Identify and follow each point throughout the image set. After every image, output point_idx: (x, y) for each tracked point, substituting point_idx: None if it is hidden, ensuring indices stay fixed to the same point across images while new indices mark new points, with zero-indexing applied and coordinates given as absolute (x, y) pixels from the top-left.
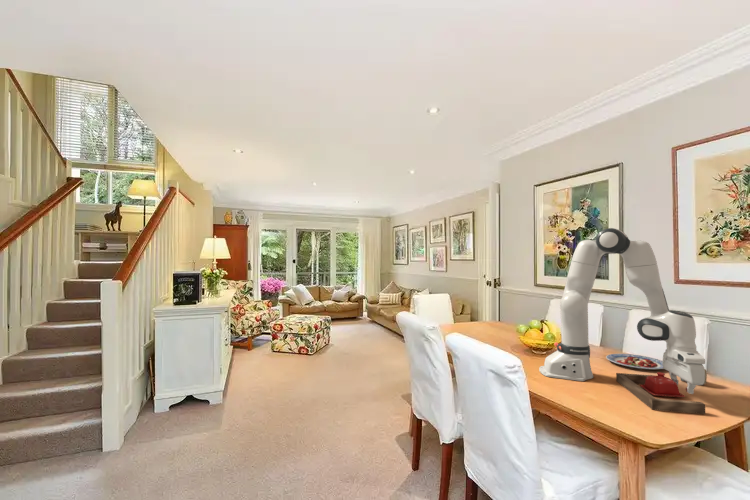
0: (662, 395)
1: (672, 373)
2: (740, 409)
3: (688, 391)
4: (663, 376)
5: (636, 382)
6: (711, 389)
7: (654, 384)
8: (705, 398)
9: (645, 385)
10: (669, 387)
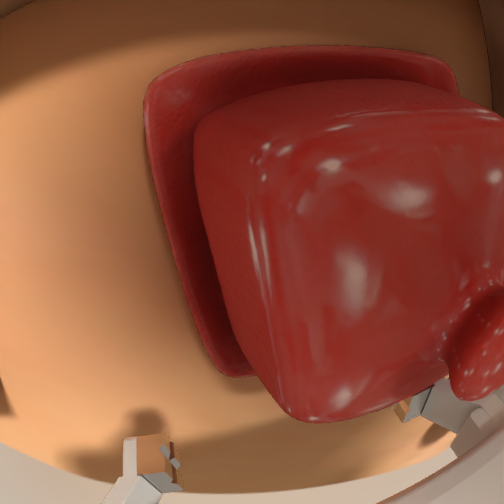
0: (161, 190)
1: (473, 434)
2: (188, 489)
3: (124, 451)
4: (444, 360)
5: (500, 88)
6: (419, 427)
7: (263, 125)
8: (296, 431)
9: (411, 81)
10: (245, 329)
